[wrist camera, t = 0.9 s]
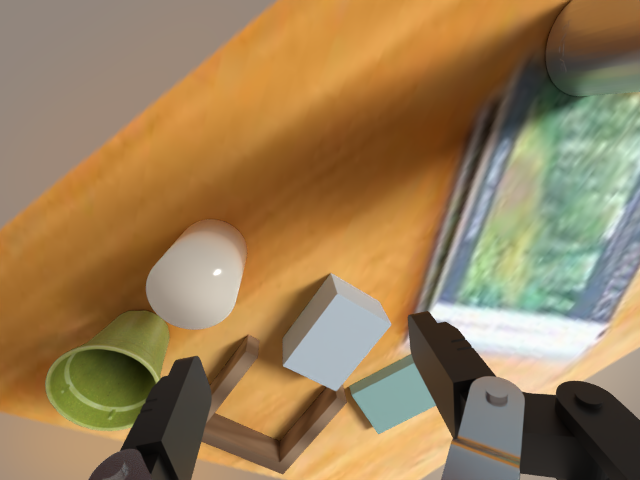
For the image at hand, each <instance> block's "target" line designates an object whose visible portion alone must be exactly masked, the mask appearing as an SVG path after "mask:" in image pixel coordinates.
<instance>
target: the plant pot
mask: <svg viewBox="0 0 640 480" xmlns="http://www.w3.org/2000/svg"><path fill="white" fill-rule="evenodd" d="M168 343H169V330H168V326H167V324H166V323H165V321H164V320H163V319H162V318H160V317H159V316H158V315H156V314H154V313H152V312H149V311H145V310H143V311H127V312H125V313H123V314H121V315H119V316H118V317H117V318H116V319H115V320H114V321H112V322H111V323H110V324H109V325H108V326H107V327H105V328H104V329H103V330H102V331H101V332H99V333H98V334H97V335H96V336H95V337H93V338H92V339H91V340H90V341H89V342H88V343H86V344H83V345H81V346H80V347H77V348H74V349H72V350H70V351H68V352H66V353H64V354H63V355H62V356H60V357H59V358H58V359H57V360H56V361H55V362H54V363H53V364H52V366H51V367H50V369H49V371H48V373H47V376H46V381H45V388H46V394H47V397H48V399H49V401H50V402H51V404H52V405H53V406H54V408H55V409H56V410H57V411H58V412H59V413H60V414H61V415H62V416H63V417H65V418H66V419H67V420H69V421H72V422H73V423H75V424H77V425H79V426H82V427H86V428H89V429H92V430H99V431H118V430H124V429H128V428H131V427H132V426H133V424H134V422H135V420H136V418H137V416H138V414H140V410H141V408H142V406H143V404H144V403H145V400H146V398H147V396H148V394H149V392H150V391H151V389H152V387H153V386H154V385H155V384H156V383H157V382H158V381H159V380H160V373H161V369H162V365H163V361H164V357H165V354H166V350H167V347H168Z"/></svg>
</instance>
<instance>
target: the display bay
mask: <svg viewBox="0 0 640 480" xmlns="http://www.w3.org/2000/svg"><path fill="white" fill-rule="evenodd" d="M258 350H259V340H258V339H256V338H254V337H252V336H250V335H248V336H247V337H246V339H245V340H244V341H243V343H242V344H241V345H240V346H239V348H238V349H237V350H236V352H235V353H234V354H233V356H232V357H231V358H230V360H229V361H228V362H227V364H226V365H225V366H224V368H223V369H222V370H221V372H220V373H219V374H218V376H217V377H216V378H215V380H214V381H213V382H212V384H211V385H210V389H211V396H212V400H211V407H210V411H209V414H208V418H207V422H206V426H205V429H204V433H203V437H202V440H201V442H204V443H206V444H209V445H211V446H214V447H216V448H219V449H221V450H224V451H226V452H229V453H231V454H234V455H236V456H239V457H241V458H244V459H246V460H248V461H251V462H253V463H256V464H258V465H261V466H263V467H266V468H268V469H271V470H273V471H276V472H278V473H281V474H284V473H285V471H286V470H287V469H288V468H289V467H290V466H291V465H292V464H293V463H294V461H295V460H296V459H297V458H298V457H299V456H300V455H301V454H302V452H303V451H304V450H305V449H306V448H307V447H308V446H309V445H310V443H311V442H312V441H313V440H314V439H315V438H316V437H317V436H318V434H319V433H320V432H321V431H322V430H323V429H324V428H325V427H326V425H327V424H328V423H329V422H330V421H331V420H332V419H333V418H334V416H335V415H336V414H337V413H338V412H339V411H340V410H341V409H342V407H343V406H344V405H345V404H346V403H347V400H346V396H345V392H344V388H343V384H342V385H341V386H340V388H339V389H338V390H337V391H334V390H332V389H330V388H328V387H326V388H325V390H324V391H323V392H322V393H321V394H320V395H319V397H318V398H317V399H316V400H315V401H314V402H313V404H312V405H311V406H310V407H309V408H308V409H307V410H306V412H305V413H304V414H303V415H302V416H301V417H300V419H299V420H298V421H297V422H296V423H295V424H294V426H293V427H292V428H291V429H290V430H289V431H288V433H287V434H286V435H285V436H284V437H283V438H282V440H281V441H278V440H275V439H273V438H271V437H268V436H266V435H264V434H261V433H259V432H257V431H255V430H252V429H250V428H248V427H245V426H243V425H241V424H239V423H236V422H234V421H232V420H229V419H227V418H225V417H222V416H220V415H218V414H216V413H215V412H216V410H217V409H218V408H219V406H220V405H221V404H222V403H223V401H224V400H225V399H226V397H227V396H228V395H229V394H230V392H231V391H232V390H233V388H234V387H235V386H236V385H237V383H238V382H239V381H240V379H241V378H242V377H243V376H244V374H245V373H246V372H247V370H248V369H249V368H250V367H251V365H252V364H253V363H254V361H255V360H256V359H257V358H258Z"/></svg>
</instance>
